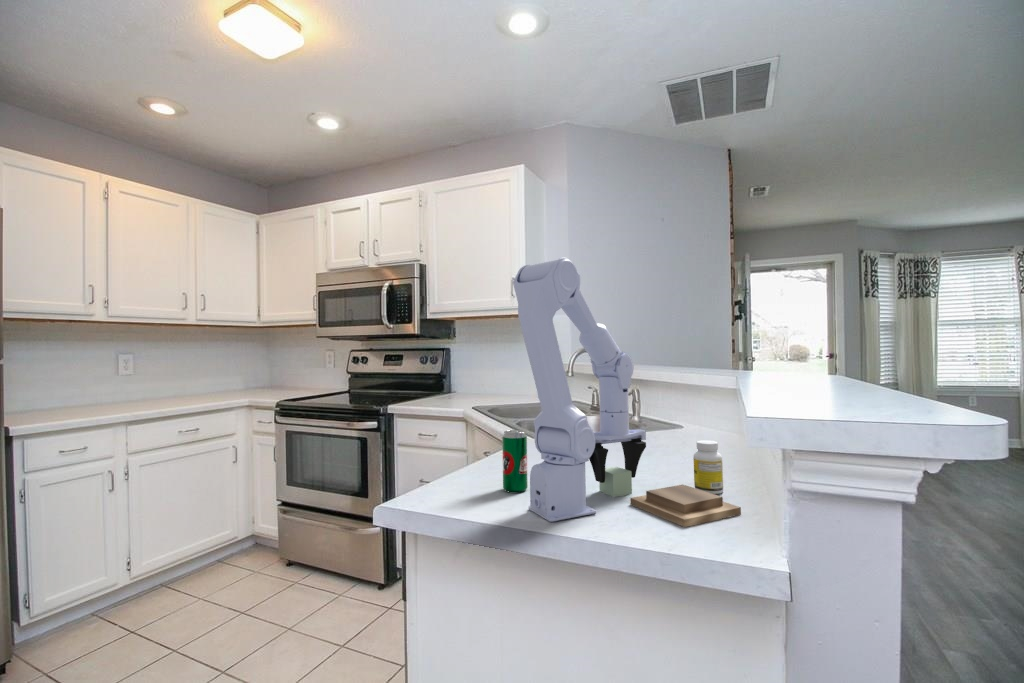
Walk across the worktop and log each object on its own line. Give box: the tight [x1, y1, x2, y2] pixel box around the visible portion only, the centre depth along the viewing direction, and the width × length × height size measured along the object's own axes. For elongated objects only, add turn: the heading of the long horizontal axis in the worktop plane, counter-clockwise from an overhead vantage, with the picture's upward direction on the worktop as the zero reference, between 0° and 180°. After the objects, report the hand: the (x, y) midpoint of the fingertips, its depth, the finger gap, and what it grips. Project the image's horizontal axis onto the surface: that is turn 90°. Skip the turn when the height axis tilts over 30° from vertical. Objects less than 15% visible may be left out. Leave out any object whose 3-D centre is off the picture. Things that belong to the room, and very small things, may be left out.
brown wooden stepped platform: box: [629, 484, 742, 528], centre depth 83 cm, size 13×13×3 cm
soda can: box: [501, 429, 529, 493], centre depth 97 cm, size 5×5×12 cm
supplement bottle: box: [693, 439, 724, 495], centre depth 95 cm, size 5×5×10 cm
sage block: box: [598, 466, 633, 498], centre depth 94 cm, size 4×4×4 cm
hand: (615, 478), depth 94 cm, fingers open, 7 cm apart
